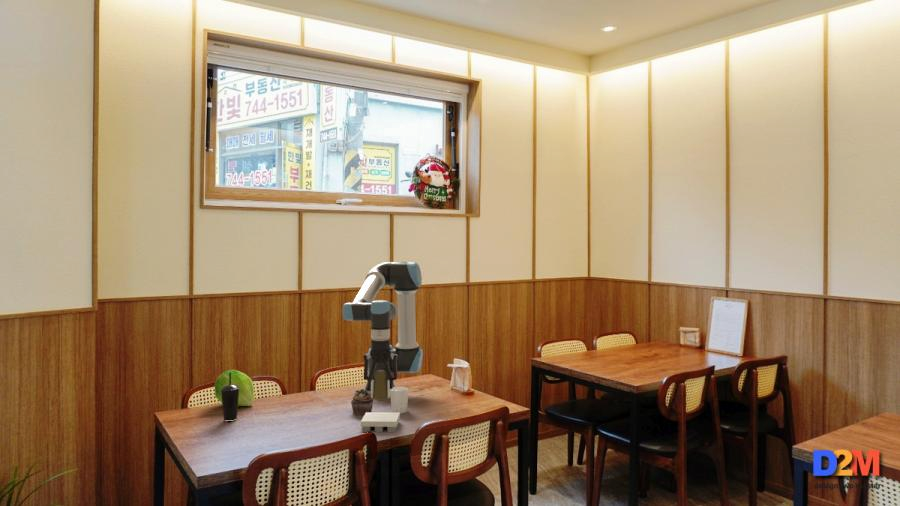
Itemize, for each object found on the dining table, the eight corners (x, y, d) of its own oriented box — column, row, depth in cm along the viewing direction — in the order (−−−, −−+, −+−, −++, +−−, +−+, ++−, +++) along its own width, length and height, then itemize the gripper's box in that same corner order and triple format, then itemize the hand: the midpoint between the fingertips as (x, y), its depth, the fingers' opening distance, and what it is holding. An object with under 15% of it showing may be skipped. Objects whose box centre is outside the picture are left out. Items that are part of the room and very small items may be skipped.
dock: (366, 421, 237) (366, 412, 237) (400, 422, 236) (399, 412, 236) (360, 431, 225) (360, 421, 225) (396, 431, 224) (396, 421, 224)
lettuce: (231, 416, 249) (254, 386, 252) (198, 389, 254) (221, 360, 257) (248, 418, 265) (270, 389, 268) (217, 392, 271) (239, 365, 274)
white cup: (405, 414, 247) (405, 391, 246) (388, 413, 248) (387, 390, 248) (410, 409, 254) (410, 386, 254) (393, 408, 256) (393, 386, 256)
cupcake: (377, 411, 252) (377, 388, 252) (365, 417, 243) (365, 393, 243) (359, 408, 256) (359, 386, 256) (346, 414, 247) (346, 391, 247)
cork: (373, 396, 233) (373, 369, 233) (388, 395, 233) (388, 368, 233) (372, 400, 227) (372, 372, 227) (388, 399, 227) (387, 371, 227)
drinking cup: (244, 418, 242) (243, 371, 241) (231, 424, 234) (231, 375, 234) (229, 416, 244) (228, 369, 244) (216, 422, 237) (216, 373, 237)
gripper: (355, 340, 226) (355, 399, 227) (403, 340, 226) (403, 399, 226) (358, 337, 234) (358, 394, 234) (405, 337, 233) (405, 394, 234)
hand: (380, 396), depth 230 cm, fingers closed on cork, 6 cm apart
